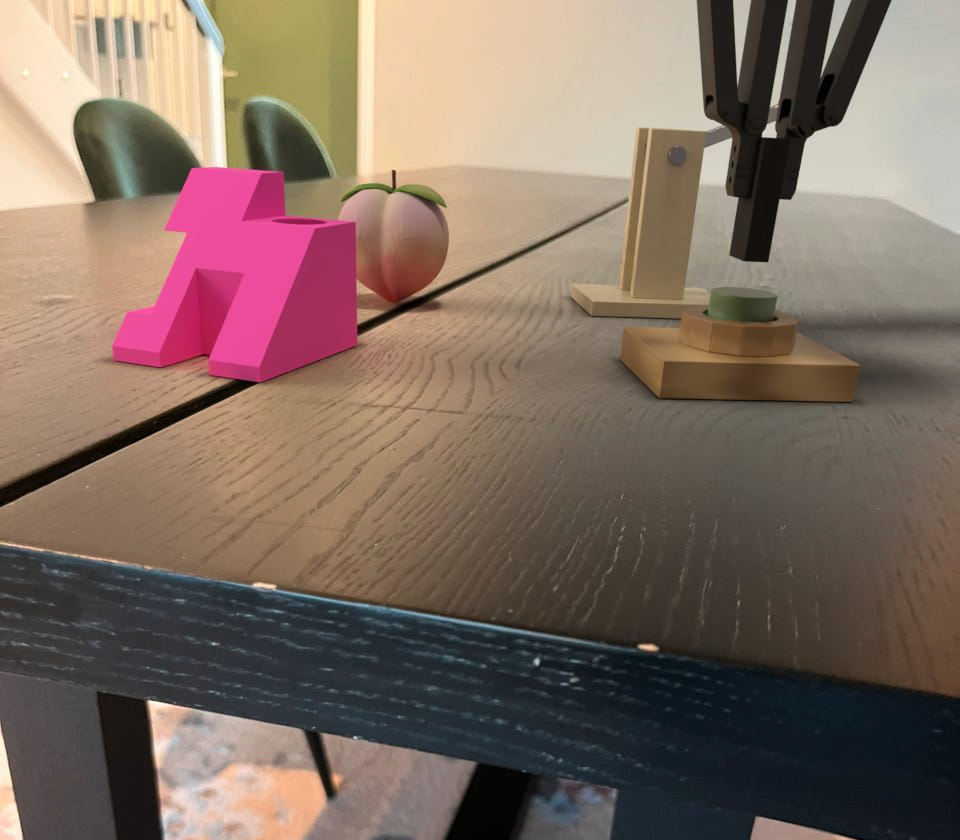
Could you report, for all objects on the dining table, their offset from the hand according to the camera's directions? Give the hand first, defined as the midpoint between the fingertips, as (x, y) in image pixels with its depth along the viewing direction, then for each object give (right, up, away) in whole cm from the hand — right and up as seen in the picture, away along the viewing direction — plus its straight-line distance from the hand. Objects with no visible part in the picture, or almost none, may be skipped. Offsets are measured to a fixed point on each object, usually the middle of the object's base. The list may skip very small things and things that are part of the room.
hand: (748, 258), depth 59 cm
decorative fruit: (-23, +5, +23) cm, 33 cm away
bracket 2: (-2, +6, +26) cm, 26 cm away
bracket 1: (-31, -5, +4) cm, 32 cm away
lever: (+4, +17, +20) cm, 27 cm away
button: (0, -3, +2) cm, 4 cm away
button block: (0, -6, +3) cm, 7 cm away
